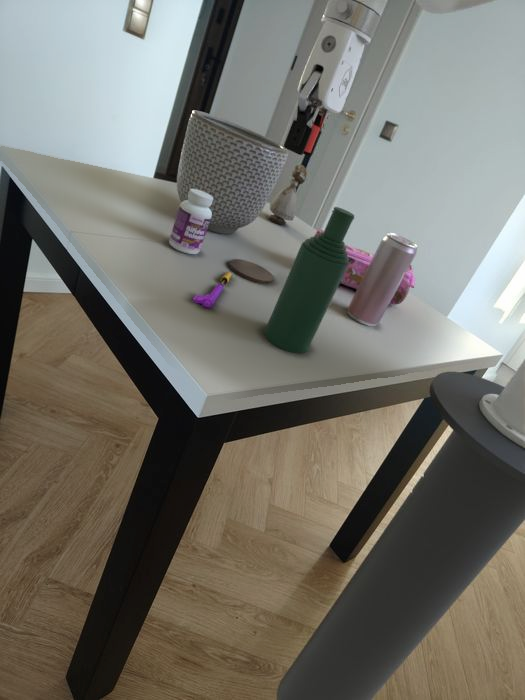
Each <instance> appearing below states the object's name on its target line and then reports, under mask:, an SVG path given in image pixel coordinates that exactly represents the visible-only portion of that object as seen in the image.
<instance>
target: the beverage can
mask: <svg viewBox="0 0 525 700" xmlns="http://www.w3.org/2000/svg"><path fill="white" fill-rule="evenodd" d="M418 249H419V246H418V244H416V243H415V242H414V241H412V240H410V239H408V238H406V237H404V236H402V235H400V234H397V233H394V232H390V231H387V232H386V233H385V235H384V236H383V237H382V238H381V240H380V242H379V244H378V247H377V249H376V251H375V252H374V253H373V254H374V256H373V258H372V260H371V262H370V264H369V266H368V268H367V270H366V272H365V274H364V276H363V278H362V280H361V282H360V284H359V286H358V288H357V289H355V290H356V291H355V292H354V295H353V296H352V299H351V300H350V302H349V305H348V306H347V313H348V316H349V317H350V318H351V319H353V320H354V321H356V322H358V323H360V324H362V325H365V326H367V327H376V326H377V325H378V324H379V323H380V322H381V320H382V318H383V316H384V315H385V312H386V310H387V309H388V307H389V305H390V304H391V303H390V301H391V300H392V298H393V296H394V294H395V292H396V290H397V288H398V287H399V285H400V283H401V281H402V279H403V277H404V275H405V274H406V272H407V270H408V268H409V266H410V265H412V262H413V261H414V259H415V257H416V255H417V252H418Z"/></svg>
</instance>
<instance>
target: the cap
mask: <svg viewBox="0 0 525 700" xmlns="http://www.w3.org/2000/svg"><path fill="white" fill-rule="evenodd" d="M311 128H312V129H313V131H312V133H311V136H310V138H309V141H308V143H307V146H306V148H305V152H308V153H310V152H311V150H312V148H313V145H314V143H315V140H316V138H317V135H318V133H319V130H320V127H318V126H316V125H312V127H311Z"/></svg>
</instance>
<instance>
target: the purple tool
mask: <svg viewBox="0 0 525 700" xmlns="http://www.w3.org/2000/svg"><path fill="white" fill-rule="evenodd" d="M232 274H233V273H232V272H230V271H227V272H226V273H224V275H223V276H222V277H221V278H220V283H218V284H216V286H215V287H214V288H213V290H212V291H211V292H210V293H206V294H205V295H200V294H196V295H195V296H194V297H193V299H192V303H195V304H201V306H202V307H203V308H206V309H208V308H211V307H212V306H213V305H214V303H215V302H216V299H217V298H218V297H219V295H220V293H221V292H222V291H223V289H224V285H227V284H228V283H229V282H230V280H231V277H232Z"/></svg>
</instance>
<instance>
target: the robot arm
mask: <svg viewBox="0 0 525 700" xmlns="http://www.w3.org/2000/svg"><path fill="white" fill-rule="evenodd" d="M388 1H389V0H328V1H327V3H326V6H325V9H324V11H323V14H322V17H321V19H320V23H321V24H322V28H321V30H320V32H319V34H318V36H317V39H316V40H315V43H314V45H313V48H312V50H311V52H310V54H309V57H308V60H307V61H306V64H305V67H304V69H303V72H302V74H301V77H300V80H299V83H298V87H297V94H298V96H297V102H298V103H297V109H296V111H295V113H294V116H293V120H292V123H291V126H290V128H289V130H288V134H287V136H286V138H285V141H284V143H283V146H284V147H285V148H286V149H288V150H289V152H292V153H294V154H297V155H299V156H303V155H305V156H307V157H312V156H313V155H314V152H315V149H316V148H317V144H318V142H319V140H320V137H321V135H322V132H323V130H324V128H325V126H326V122H327V120H328V119H329V116H331V114H332V113H334V114H340V113H341V112H342V111H343V109H344V106H345V103H346V101H347V97H348V95H349V93H350V91H351V88H352V85H353V82H354V79H355V76H356V74H357V71H358V70H359V69H358V68H359V66H360V63H361V59H362V57H363V53H364V49H365V46H366V45H370V43H371V41H372V40H373V37H374V34H375V31H376V29H377V27H378V25H379V22H380V20H381V18H382V15H383V12H384V11H385V8H386V5H387V4H388ZM414 1H415V2H416V4H417V5H418V7H420V8H421V9H422V10H423V11H425V12H427V13H431V14H439V15H444V14H451V13H457V12H459V11H464V10H468V9H471V8H475V7H479V6H480V7H481V6H483V5H487V4H489V3H490V4H491V3H493V2H496V1H497V0H414ZM312 125H316V126H318V127H320V130H319V133H318V135H317V138H316V140H315V143H314V145H313V148H312V150H311V152H310V153H308V152H305V148H306V146H307V143H308V141H309V138H310V136H311V133H312V131H313V129H312V128H311V127H312ZM503 387H504V389H503V390H502V392H501V393H500V395H497V394H487V395H485V396H483V397H482V399H481V400H480V402H479V407H480V410H481V412H482V414H483V415H484V416H485V418H486V419H487V420H488V421H489V422H490V423H491V424H492V425H493V426H494V427H495V428H496V429H497V430H498V431H499V432H501V433H502V434H503V435H504V436H506V437H507V438H508V439H510V440H511V441H513V442H514V443H516V444H517V445H519V446H521V447H523V448H524V449H525V358H524V359H523V361H522V362H521V363H520V365H519V366H518V368H517V369H516V370H515V372H514V374H512V376H511V378H510V379H509V381H508V382H507V383H506V384H505V386H503Z"/></svg>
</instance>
